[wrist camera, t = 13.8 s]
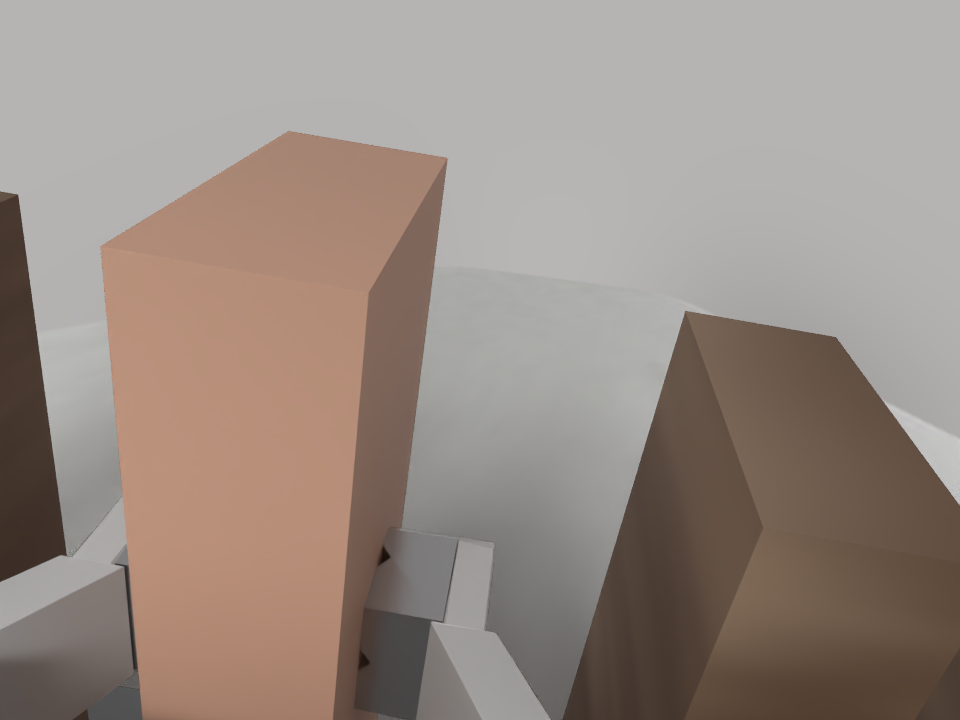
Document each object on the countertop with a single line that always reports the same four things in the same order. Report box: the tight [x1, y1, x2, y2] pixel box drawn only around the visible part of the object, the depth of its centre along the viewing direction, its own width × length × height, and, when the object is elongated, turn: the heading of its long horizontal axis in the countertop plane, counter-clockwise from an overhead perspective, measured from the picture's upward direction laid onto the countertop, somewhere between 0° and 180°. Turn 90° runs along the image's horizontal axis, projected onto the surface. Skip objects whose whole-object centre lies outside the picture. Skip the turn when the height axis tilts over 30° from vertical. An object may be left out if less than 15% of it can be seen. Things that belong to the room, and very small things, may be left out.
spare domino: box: [101, 131, 447, 720], centre depth 10 cm, size 2×4×12 cm, turn 174°
